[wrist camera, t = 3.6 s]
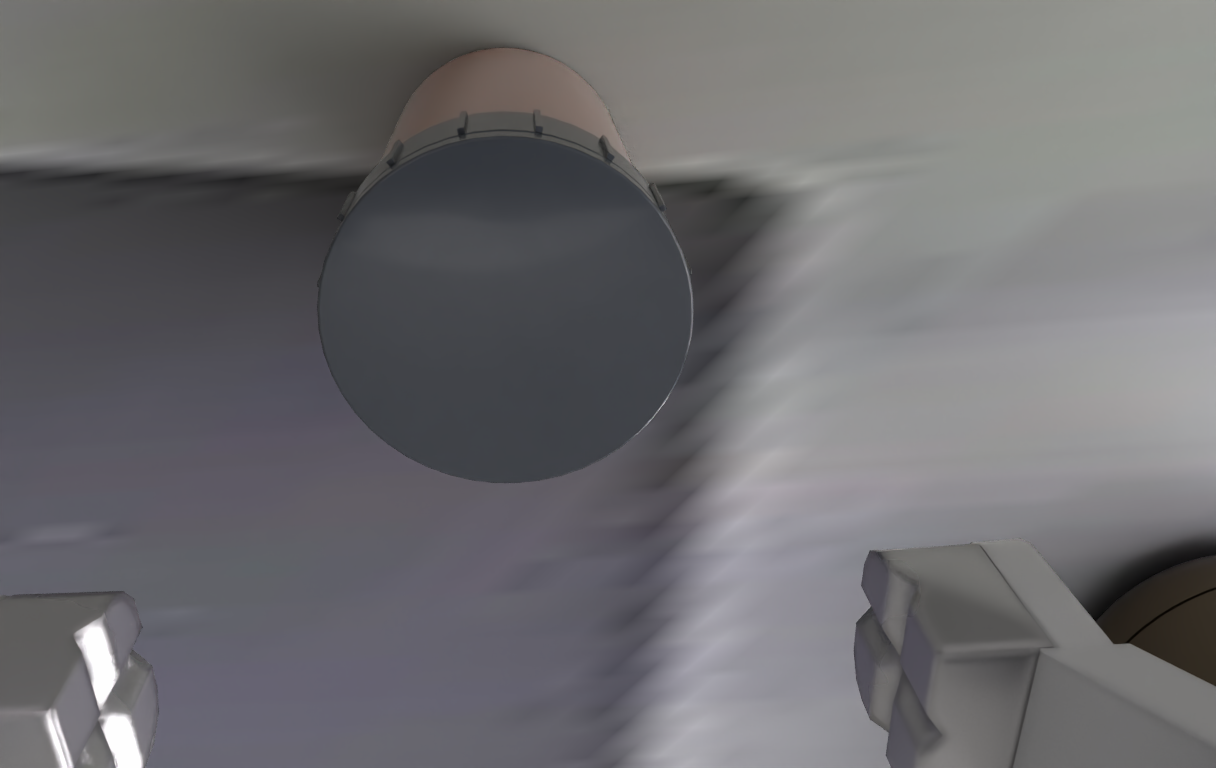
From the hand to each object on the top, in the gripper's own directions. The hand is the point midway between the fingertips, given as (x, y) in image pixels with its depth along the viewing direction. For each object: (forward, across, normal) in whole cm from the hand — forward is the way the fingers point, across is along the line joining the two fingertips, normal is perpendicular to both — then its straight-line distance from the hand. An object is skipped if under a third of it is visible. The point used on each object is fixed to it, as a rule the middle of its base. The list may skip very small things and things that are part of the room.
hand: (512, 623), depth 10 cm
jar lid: (+8, 0, 0) cm, 8 cm away
